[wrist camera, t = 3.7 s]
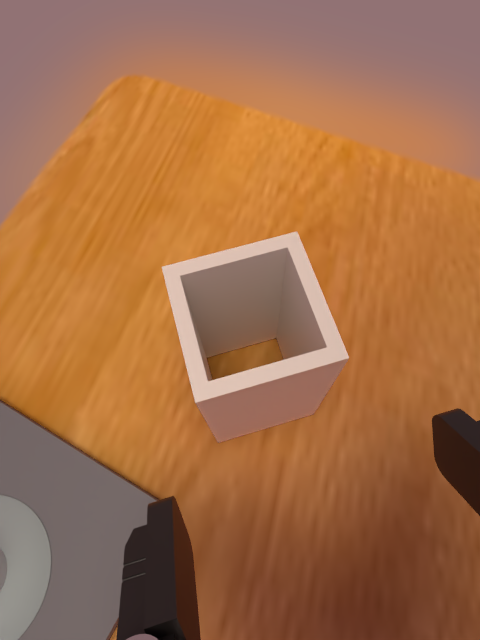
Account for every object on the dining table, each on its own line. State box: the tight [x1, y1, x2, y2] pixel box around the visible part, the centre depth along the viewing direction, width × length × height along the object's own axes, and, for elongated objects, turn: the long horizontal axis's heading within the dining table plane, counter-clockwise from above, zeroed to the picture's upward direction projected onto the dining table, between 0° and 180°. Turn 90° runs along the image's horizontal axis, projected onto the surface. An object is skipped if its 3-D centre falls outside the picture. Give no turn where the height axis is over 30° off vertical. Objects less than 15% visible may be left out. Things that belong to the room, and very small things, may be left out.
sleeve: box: [162, 232, 349, 443], centre depth 21 cm, size 6×6×10 cm
